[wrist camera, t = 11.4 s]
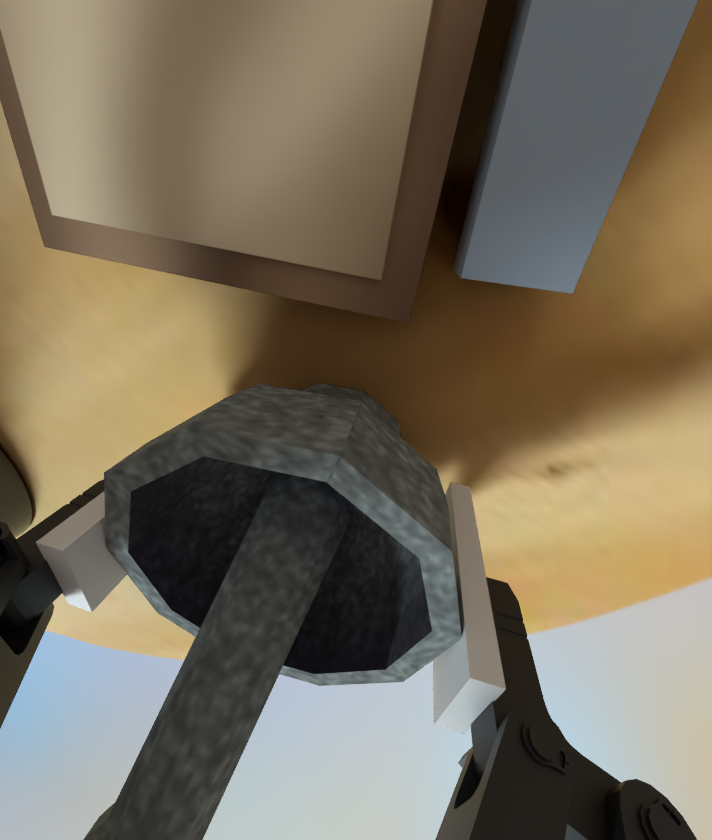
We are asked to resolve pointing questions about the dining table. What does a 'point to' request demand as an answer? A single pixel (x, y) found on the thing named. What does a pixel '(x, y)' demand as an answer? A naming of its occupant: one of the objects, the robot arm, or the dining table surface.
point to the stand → (242, 136)
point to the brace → (563, 134)
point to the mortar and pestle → (272, 576)
